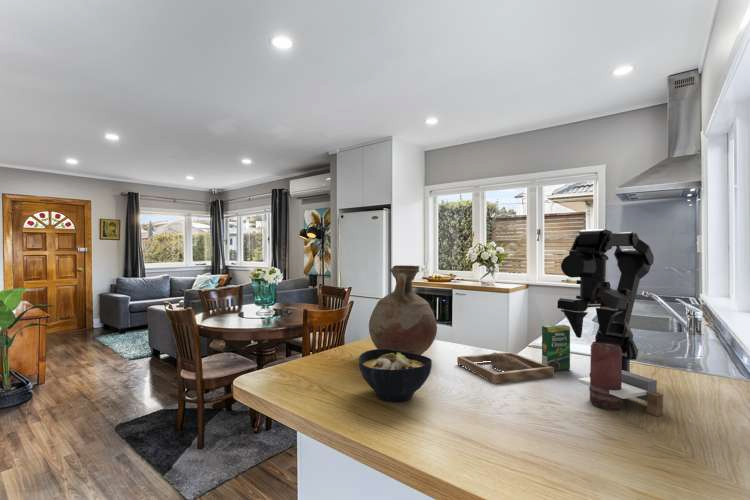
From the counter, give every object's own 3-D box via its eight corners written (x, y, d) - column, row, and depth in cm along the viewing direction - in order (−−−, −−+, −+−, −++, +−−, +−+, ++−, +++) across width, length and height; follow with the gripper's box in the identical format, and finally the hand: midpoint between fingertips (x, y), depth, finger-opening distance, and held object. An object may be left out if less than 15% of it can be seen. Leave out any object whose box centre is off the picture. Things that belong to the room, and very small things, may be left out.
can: (582, 399, 88) (583, 340, 88) (608, 399, 88) (609, 340, 89) (600, 410, 82) (601, 346, 82) (627, 410, 82) (628, 346, 83)
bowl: (392, 378, 100) (393, 341, 100) (445, 397, 88) (446, 354, 88) (343, 393, 88) (344, 351, 88) (396, 418, 76) (398, 368, 76)
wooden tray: (510, 359, 121) (510, 351, 121) (553, 376, 105) (553, 367, 105) (457, 364, 114) (457, 356, 114) (495, 383, 98) (495, 374, 98)
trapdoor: (610, 384, 94) (611, 366, 94) (660, 401, 83) (660, 381, 83) (576, 388, 90) (577, 370, 90) (624, 407, 79) (624, 387, 79)
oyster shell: (525, 378, 103) (526, 360, 103) (483, 368, 111) (483, 351, 111) (537, 371, 110) (537, 354, 110) (496, 362, 119) (497, 346, 119)
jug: (429, 350, 130) (431, 264, 130) (443, 370, 108) (446, 267, 108) (367, 349, 128) (369, 263, 129) (369, 369, 107) (371, 265, 107)
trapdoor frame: (594, 389, 95) (595, 372, 95) (662, 415, 80) (663, 394, 80) (589, 390, 94) (589, 372, 94) (656, 416, 80) (657, 395, 80)
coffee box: (546, 371, 109) (547, 326, 109) (540, 368, 112) (541, 324, 112) (570, 370, 111) (571, 326, 111) (563, 367, 114) (564, 324, 114)
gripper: (595, 279, 87) (594, 346, 87) (648, 279, 94) (647, 341, 93) (556, 276, 97) (555, 336, 97) (606, 276, 104) (605, 332, 104)
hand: (591, 336), depth 97 cm, fingers open, 9 cm apart
